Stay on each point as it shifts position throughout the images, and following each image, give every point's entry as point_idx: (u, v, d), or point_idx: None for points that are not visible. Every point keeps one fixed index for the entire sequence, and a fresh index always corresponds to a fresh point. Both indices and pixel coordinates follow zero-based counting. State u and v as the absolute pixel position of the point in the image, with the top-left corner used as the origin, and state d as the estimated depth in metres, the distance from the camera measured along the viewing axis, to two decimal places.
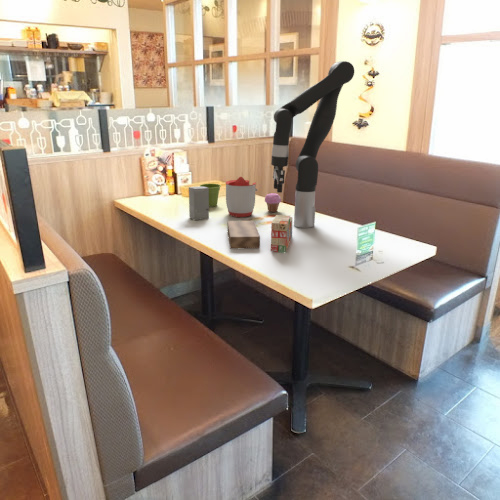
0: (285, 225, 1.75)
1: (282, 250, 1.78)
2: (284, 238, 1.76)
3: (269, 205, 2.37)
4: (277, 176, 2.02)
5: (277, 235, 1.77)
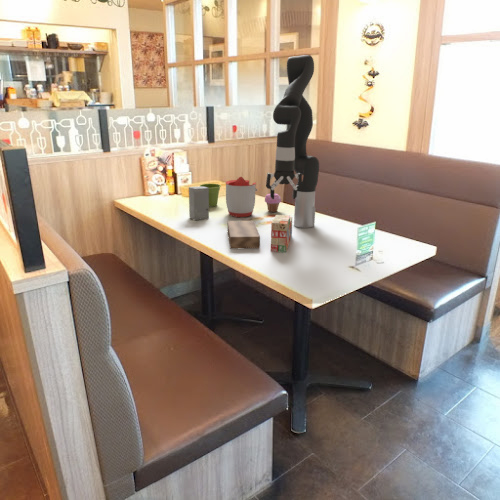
0: (285, 225, 1.75)
1: (282, 250, 1.79)
2: (284, 238, 1.77)
3: (269, 205, 2.37)
4: (292, 182, 1.79)
5: (277, 235, 1.77)
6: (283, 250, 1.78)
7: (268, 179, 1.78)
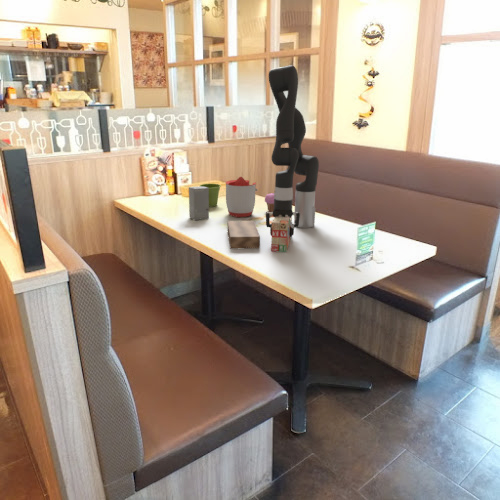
0: (286, 224, 1.75)
1: (282, 249, 1.79)
2: (285, 237, 1.77)
3: (269, 205, 2.37)
4: (290, 220, 1.84)
5: (278, 234, 1.77)
6: (284, 250, 1.79)
7: (267, 218, 1.83)
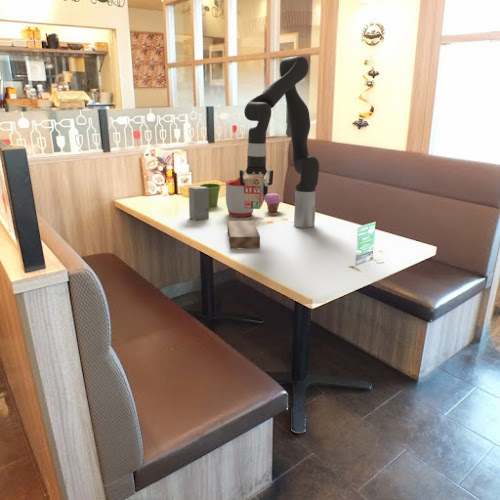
0: (259, 180, 1.73)
1: (256, 206, 1.76)
2: (258, 194, 1.74)
3: (269, 205, 2.37)
4: (264, 178, 1.82)
5: (251, 191, 1.74)
6: (257, 206, 1.76)
7: (241, 176, 1.80)
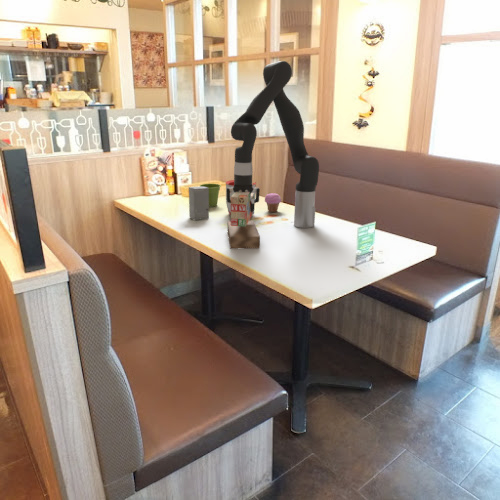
0: (244, 198, 1.77)
1: (242, 224, 1.81)
2: (243, 212, 1.79)
3: (269, 205, 2.37)
4: (250, 195, 1.86)
5: (236, 209, 1.79)
6: (243, 224, 1.81)
7: (228, 193, 1.85)
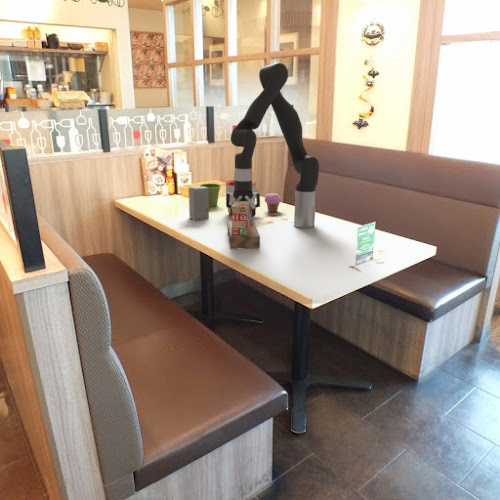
0: (245, 208, 1.78)
1: (243, 233, 1.82)
2: (244, 221, 1.80)
3: (269, 205, 2.37)
4: (251, 201, 1.87)
5: (237, 218, 1.80)
6: (244, 233, 1.82)
7: (227, 198, 1.86)
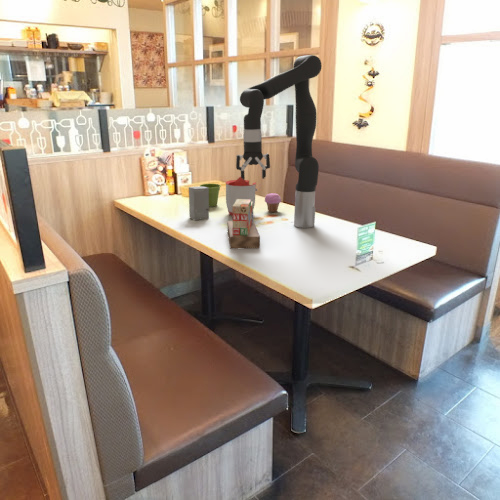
0: (246, 208, 1.79)
1: (244, 233, 1.82)
2: (245, 221, 1.80)
3: (269, 205, 2.37)
4: (261, 162, 1.89)
5: (238, 218, 1.80)
6: (245, 233, 1.82)
7: (237, 160, 1.87)
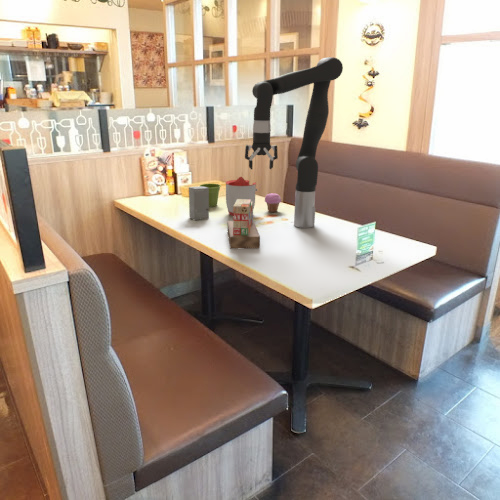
0: (247, 208, 1.79)
1: (244, 233, 1.82)
2: (246, 221, 1.80)
3: (269, 205, 2.37)
4: (269, 153, 1.95)
5: (239, 218, 1.80)
6: (245, 233, 1.82)
7: (246, 150, 1.94)
